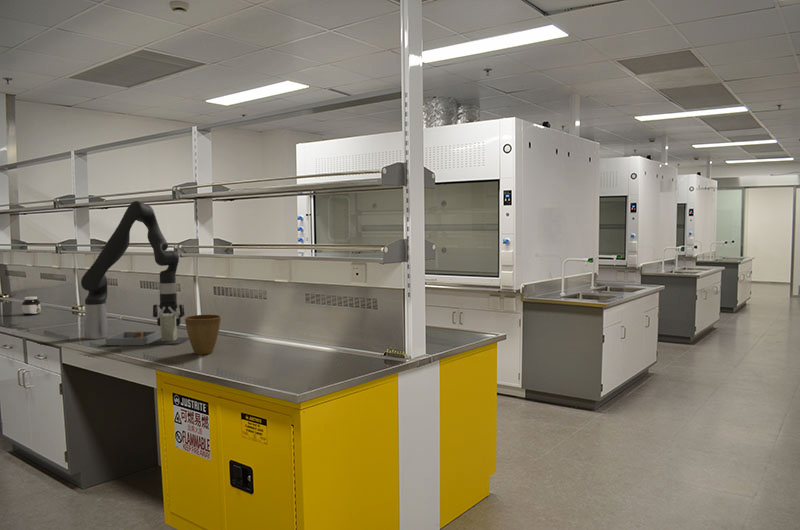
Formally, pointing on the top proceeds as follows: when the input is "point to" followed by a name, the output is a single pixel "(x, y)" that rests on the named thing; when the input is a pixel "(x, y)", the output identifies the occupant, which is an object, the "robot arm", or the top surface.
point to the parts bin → (128, 339)
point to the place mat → (177, 341)
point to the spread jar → (31, 306)
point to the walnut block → (138, 334)
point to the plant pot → (203, 332)
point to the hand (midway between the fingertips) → (169, 325)
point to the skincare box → (168, 327)
